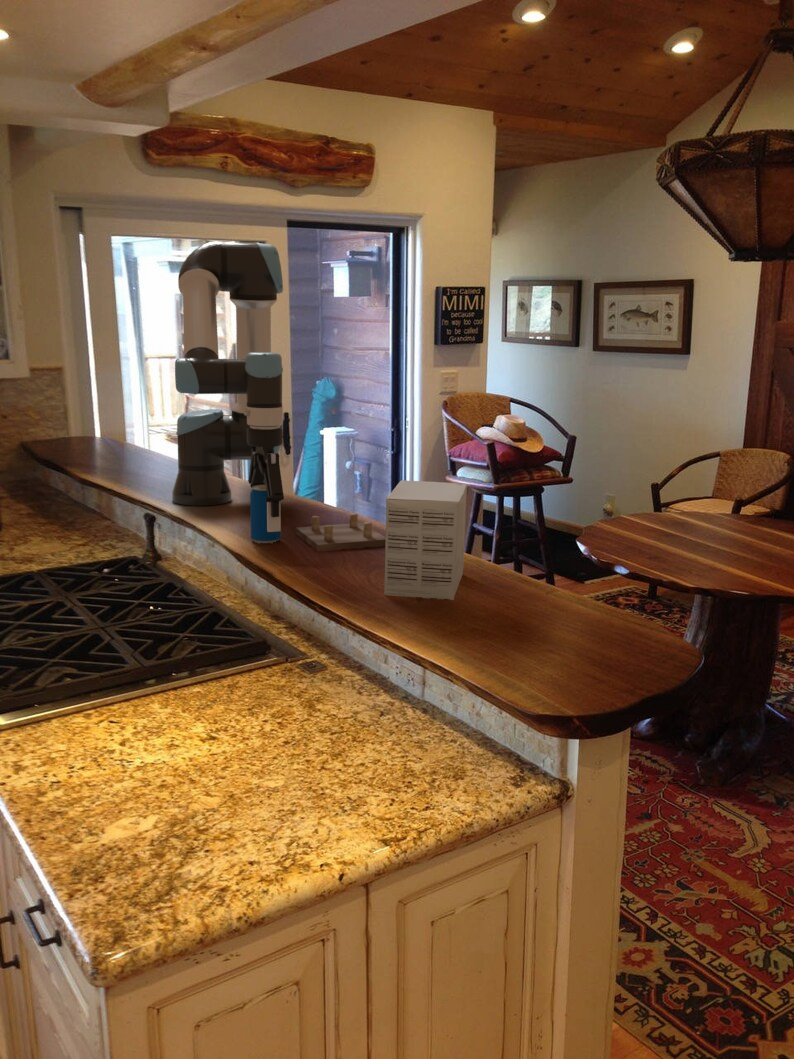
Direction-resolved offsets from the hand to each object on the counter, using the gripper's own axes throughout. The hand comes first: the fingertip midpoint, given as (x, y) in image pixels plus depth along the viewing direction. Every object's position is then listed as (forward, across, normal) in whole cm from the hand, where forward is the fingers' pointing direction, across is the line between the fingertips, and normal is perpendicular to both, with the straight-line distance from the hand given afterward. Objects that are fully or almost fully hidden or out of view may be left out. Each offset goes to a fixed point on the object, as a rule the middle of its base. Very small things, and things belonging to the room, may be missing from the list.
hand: (265, 524), depth 198 cm
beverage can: (+4, 0, 0) cm, 4 cm away
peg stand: (+4, +4, +16) cm, 17 cm away
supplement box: (+4, +40, +20) cm, 45 cm away
